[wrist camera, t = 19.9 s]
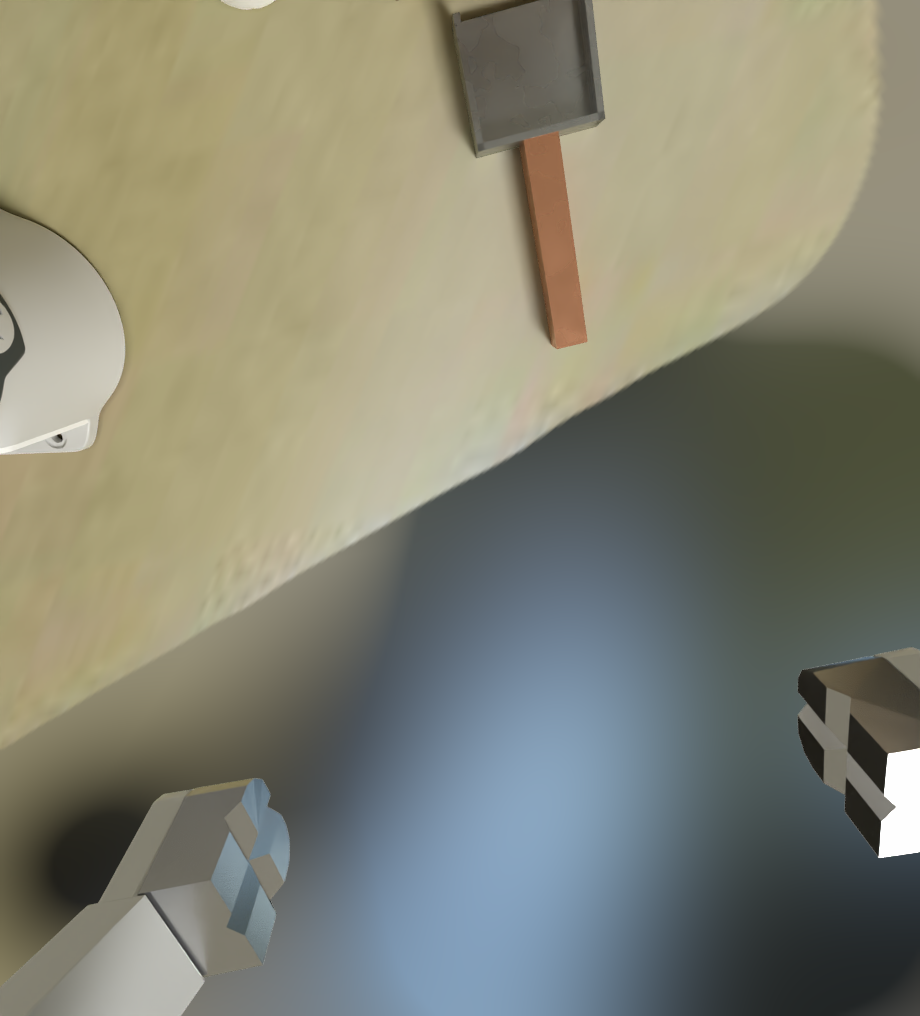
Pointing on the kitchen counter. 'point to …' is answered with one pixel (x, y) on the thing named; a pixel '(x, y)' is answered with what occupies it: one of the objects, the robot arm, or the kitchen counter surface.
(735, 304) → the kitchen counter surface
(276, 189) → the kitchen counter surface
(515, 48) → the shovel
